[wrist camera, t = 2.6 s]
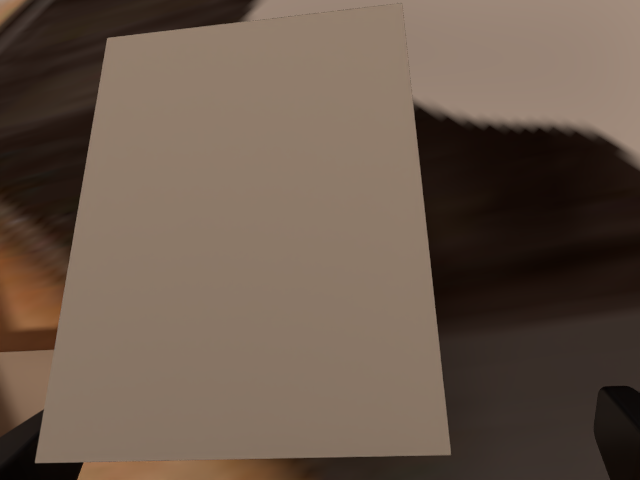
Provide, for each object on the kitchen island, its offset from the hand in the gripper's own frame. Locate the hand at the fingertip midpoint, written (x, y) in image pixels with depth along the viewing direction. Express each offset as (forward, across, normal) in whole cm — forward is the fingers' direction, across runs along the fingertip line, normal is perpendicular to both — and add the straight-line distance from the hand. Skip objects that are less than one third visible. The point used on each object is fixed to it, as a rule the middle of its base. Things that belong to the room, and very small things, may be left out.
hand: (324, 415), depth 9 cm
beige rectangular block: (+8, 0, +6) cm, 10 cm away
